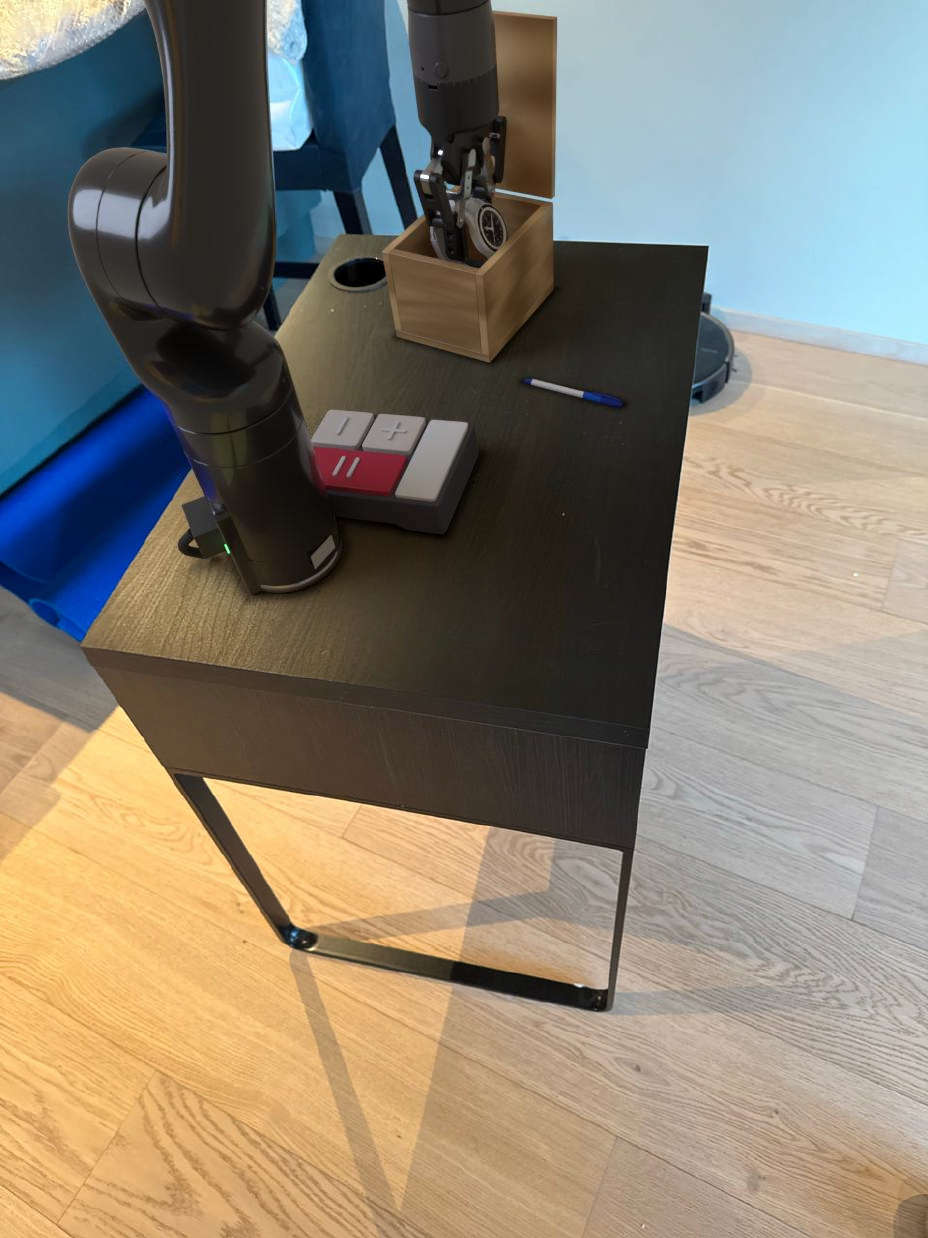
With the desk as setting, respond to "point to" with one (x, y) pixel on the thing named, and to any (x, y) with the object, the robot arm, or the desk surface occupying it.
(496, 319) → the chest
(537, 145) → the chest lid
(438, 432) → the calculator
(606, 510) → the desk surface
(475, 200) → the watch
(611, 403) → the ballpoint pen
